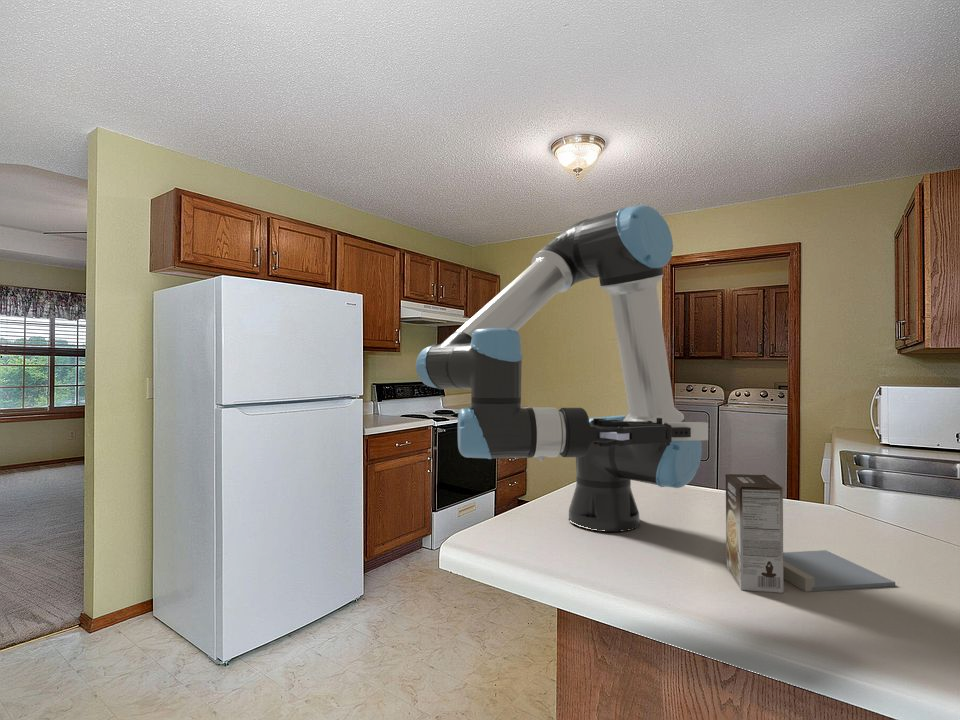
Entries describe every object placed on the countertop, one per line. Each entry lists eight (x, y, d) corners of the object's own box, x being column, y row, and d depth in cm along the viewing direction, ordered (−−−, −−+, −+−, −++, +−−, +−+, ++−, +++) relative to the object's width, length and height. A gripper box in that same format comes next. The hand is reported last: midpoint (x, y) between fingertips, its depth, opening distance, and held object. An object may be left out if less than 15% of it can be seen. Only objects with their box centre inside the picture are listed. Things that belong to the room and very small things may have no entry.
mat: (748, 557, 93) (748, 546, 93) (825, 553, 95) (825, 542, 95) (805, 591, 79) (805, 578, 79) (895, 586, 81) (895, 573, 81)
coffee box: (724, 567, 89) (723, 472, 89) (766, 570, 87) (764, 474, 88) (740, 590, 80) (739, 485, 80) (786, 594, 78) (785, 486, 79)
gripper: (548, 450, 86) (684, 448, 89) (571, 464, 73) (729, 462, 76) (548, 404, 86) (684, 404, 89) (571, 411, 73) (729, 410, 76)
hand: (705, 431), depth 82 cm, fingers closed
